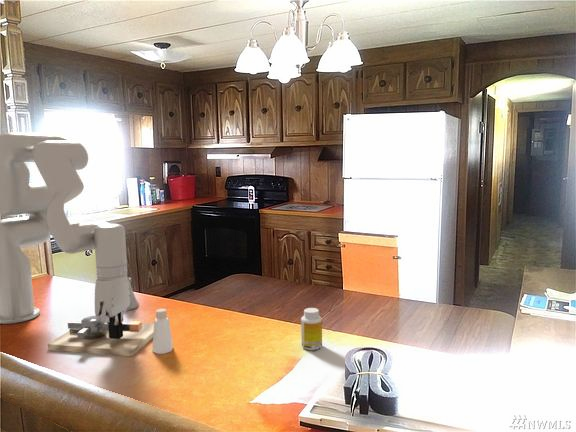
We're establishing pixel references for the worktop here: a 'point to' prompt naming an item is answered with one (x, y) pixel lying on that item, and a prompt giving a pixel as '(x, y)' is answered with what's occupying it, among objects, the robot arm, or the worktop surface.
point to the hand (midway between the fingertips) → (116, 337)
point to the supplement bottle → (311, 329)
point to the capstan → (99, 327)
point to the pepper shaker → (162, 333)
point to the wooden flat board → (105, 342)
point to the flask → (132, 298)
